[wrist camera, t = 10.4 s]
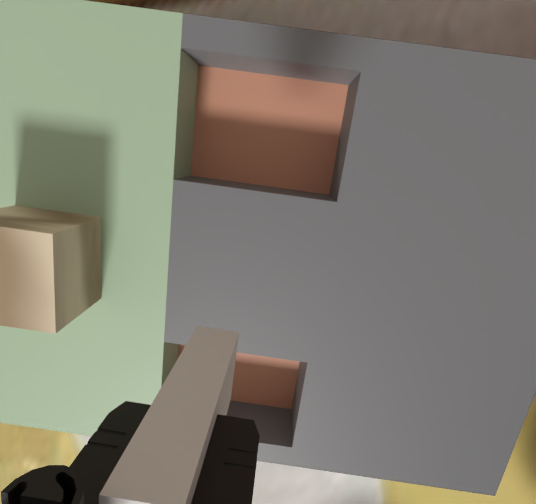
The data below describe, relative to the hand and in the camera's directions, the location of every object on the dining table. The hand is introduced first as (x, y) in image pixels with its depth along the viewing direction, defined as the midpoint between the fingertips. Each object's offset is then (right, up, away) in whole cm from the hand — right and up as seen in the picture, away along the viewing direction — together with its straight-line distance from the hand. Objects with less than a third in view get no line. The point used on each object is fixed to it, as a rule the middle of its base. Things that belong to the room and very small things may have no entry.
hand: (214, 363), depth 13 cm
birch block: (-10, +4, +8) cm, 14 cm away
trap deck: (+2, +3, +12) cm, 12 cm away
